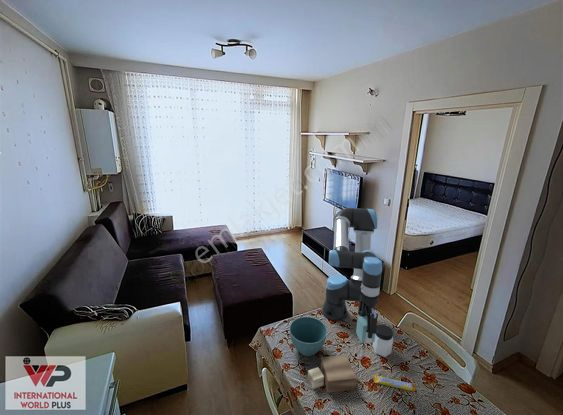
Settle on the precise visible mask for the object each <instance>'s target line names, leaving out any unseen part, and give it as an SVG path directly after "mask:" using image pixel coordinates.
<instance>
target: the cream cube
mask: <svg viewBox="0 0 563 415" xmlns="http://www.w3.org/2000/svg"><path fill="white" fill-rule="evenodd" d="M307 380H308V381H307V382H309V385H310V386H311V388H312V389H313V390H315V389H318V388H320V387H323V386H324V385H325V381H324V376H323V374H322V371H321V368H319V366H317V367H314V368H311V369H309V370H307Z"/></svg>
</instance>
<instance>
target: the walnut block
mask: <svg viewBox="0 0 563 415" xmlns="http://www.w3.org/2000/svg"><path fill="white" fill-rule="evenodd" d="M320 371H321V372H322V374H323V376H324V385H325V388H326V390H327V392H326V393H333V392H334V393H336V392H343V391H344V392H346V391H355V390H356V388H357V376H356V374H355V371H354V369H353V367H352V364H351V362H350V360H349V357H348V356H347V354H341V355H329V356H321V357H320Z"/></svg>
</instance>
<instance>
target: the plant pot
mask: <svg viewBox="0 0 563 415" xmlns="http://www.w3.org/2000/svg"><path fill="white" fill-rule="evenodd" d="M327 334H328V328H327V326H326V325H325V323H324V322H323V321H322V320H320V319H317V318H315V317H311V316H301V317H300V316H299V317H298V318H295V319H294V320H292V322H291V323H290V325H289V336H290V339H291V343H292V344H293V346H294V348H295V350H296V351H298V353H300V354H301V355H303V356H305V357H312V356H314V355H316V354H317V353H318V352H319V351H321V349H322V348H323V346H324V344H325V342H326V339H327Z"/></svg>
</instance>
